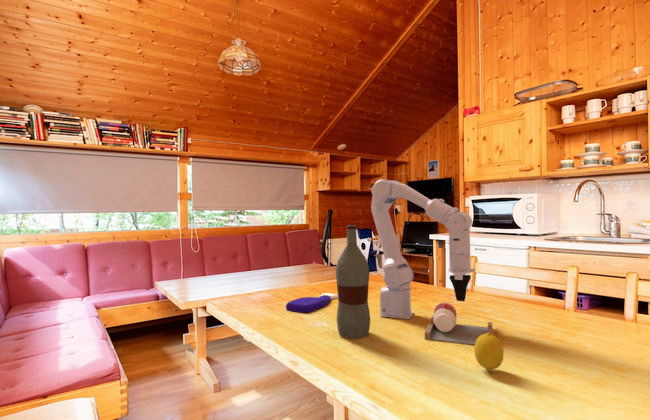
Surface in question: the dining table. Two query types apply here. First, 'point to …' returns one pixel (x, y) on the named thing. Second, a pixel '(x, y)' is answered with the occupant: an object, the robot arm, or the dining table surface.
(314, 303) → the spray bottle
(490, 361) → the lemon
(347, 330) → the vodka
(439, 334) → the grey tray
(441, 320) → the pill bottle
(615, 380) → the dining table surface
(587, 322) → the dining table surface
